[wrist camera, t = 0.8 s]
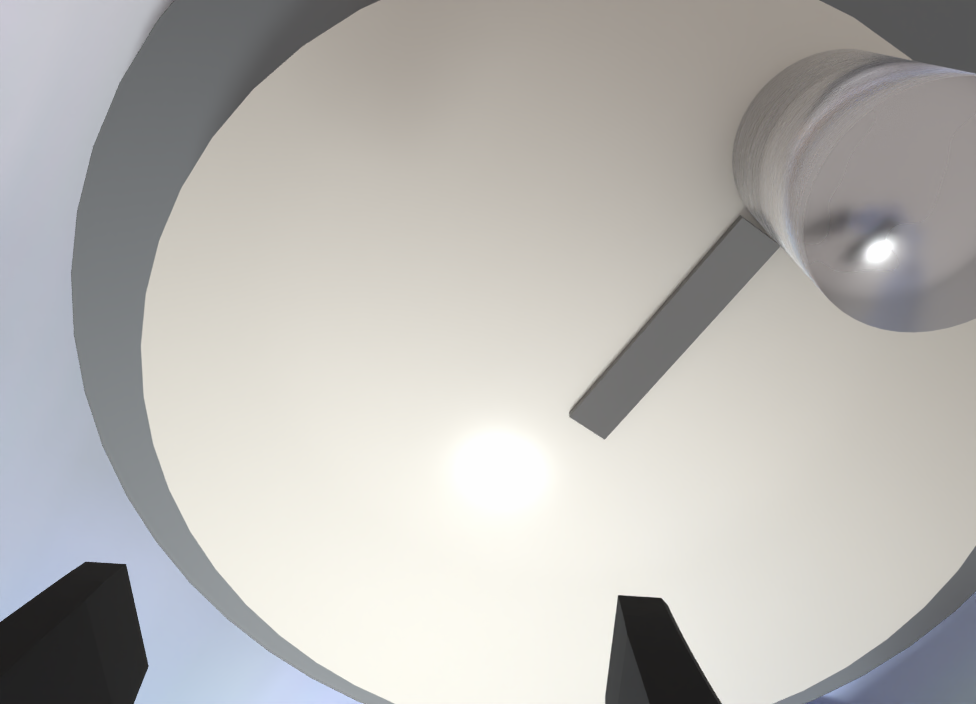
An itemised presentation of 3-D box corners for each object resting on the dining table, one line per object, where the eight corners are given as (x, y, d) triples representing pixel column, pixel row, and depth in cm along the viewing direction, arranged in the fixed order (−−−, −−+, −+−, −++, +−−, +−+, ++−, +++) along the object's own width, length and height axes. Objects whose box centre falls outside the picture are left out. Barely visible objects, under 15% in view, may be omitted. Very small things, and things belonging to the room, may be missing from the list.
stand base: (1350, 10, 16) (1415, 13, 14) (814, 790, 26) (827, 828, 25) (115, -366, 14) (77, -398, 13) (79, 618, 25) (56, 649, 24)
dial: (631, 786, 25) (656, 1008, 20) (50, 474, 21) (-119, 644, 16) (1201, 324, 17) (1500, 479, 12) (458, -303, 13) (403, -496, 8)
